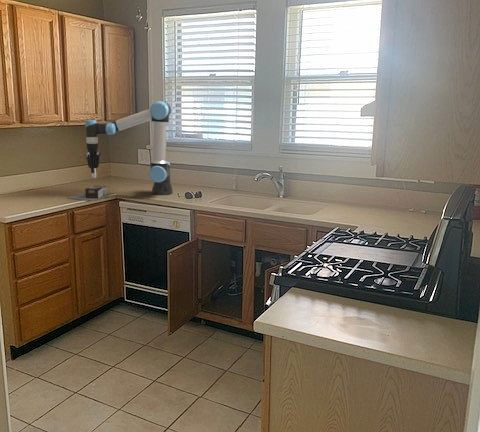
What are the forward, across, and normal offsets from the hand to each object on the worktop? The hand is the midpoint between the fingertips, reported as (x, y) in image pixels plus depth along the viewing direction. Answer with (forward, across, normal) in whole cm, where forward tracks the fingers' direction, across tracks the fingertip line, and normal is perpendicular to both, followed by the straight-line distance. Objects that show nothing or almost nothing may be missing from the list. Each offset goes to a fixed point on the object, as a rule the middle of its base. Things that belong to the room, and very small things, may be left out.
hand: (94, 177), depth 328 cm
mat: (+13, +7, 0) cm, 15 cm away
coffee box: (+9, -5, +1) cm, 10 cm away
